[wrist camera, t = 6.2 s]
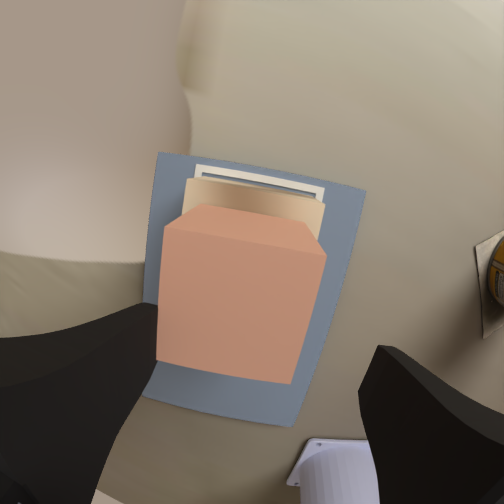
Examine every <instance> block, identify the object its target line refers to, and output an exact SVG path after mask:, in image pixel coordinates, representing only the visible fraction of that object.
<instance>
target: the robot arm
mask: <svg viewBox="0 0 504 504" xmlns="http://www.w3.org/2000/svg"><path fill="white" fill-rule="evenodd" d="M157 324H158V305H154V304H150V303H146V302H143V303H139V304H136V305H134V306H131V307H128V308H126V309H123V310H121V311H118V312H115V313H113V314H110V315H108V316H105V317H102V318H100V319H97V320H94V321H90V322H87V323H84V324H81V325H78V326H75V327H72V328H68V329H64V330H60V331H55V332H50V333H45V334H39V335H30V336H21V337H10V338H0V504H91V502H92V499H93V496H94V493H95V490H96V487H97V484H98V481H99V478H100V476H101V473H102V470H103V468H104V465H105V463H106V460H107V457H108V455H109V453H110V450H111V448H112V446H113V443H114V441H115V439H116V436H117V434H118V433H119V431H120V429H121V427H122V425H123V424H124V422H125V420H126V419H127V417H128V415H129V414H130V412H131V410H132V409H133V407H134V405H135V404H136V402H137V400H138V399H139V397H140V396H141V394H142V392H143V391H144V389H145V387H146V386H147V384H148V382H149V380H150V378H151V376H152V374H153V371H154V369H155V366H156V364H157V362H158V360H156V351H157ZM358 396H359V405H360V412H361V417H362V421H363V425H364V428H365V432H366V436H367V439H368V440H335V439H318V438H312V439H309V440H308V441H307V443H306V445H305V447H304V449H303V451H302V453H301V455H300V457H299V459H298V461H297V463H296V465H295V466H294V468H293V470H292V472H291V474H290V476H289V477H288V479H287V485H290V486H300V501H301V504H504V414H502V413H499V412H497V411H494V410H492V409H490V408H488V407H486V406H483V405H481V404H480V403H478V402H476V401H474V400H472V399H470V398H469V397H467V396H465V395H463V394H462V393H460V392H459V391H457V390H456V389H454V388H453V387H451V386H450V385H448V384H447V383H445V382H444V381H442V380H441V379H439V378H438V377H437V376H435V375H434V374H432V373H431V372H430V371H428V370H427V369H426V368H424V367H423V366H422V365H420V364H419V363H418V362H416V361H415V360H414V359H412V358H411V357H409V356H408V355H407V354H405V353H404V352H402V351H400V350H399V349H397V348H395V347H393V346H384V345H378V346H377V349H376V351H375V353H374V356H373V358H372V361H371V363H370V365H369V368H368V370H367V372H366V374H365V377H364V379H363V381H362V383H361V386H360V388H359V390H358Z"/></svg>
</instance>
